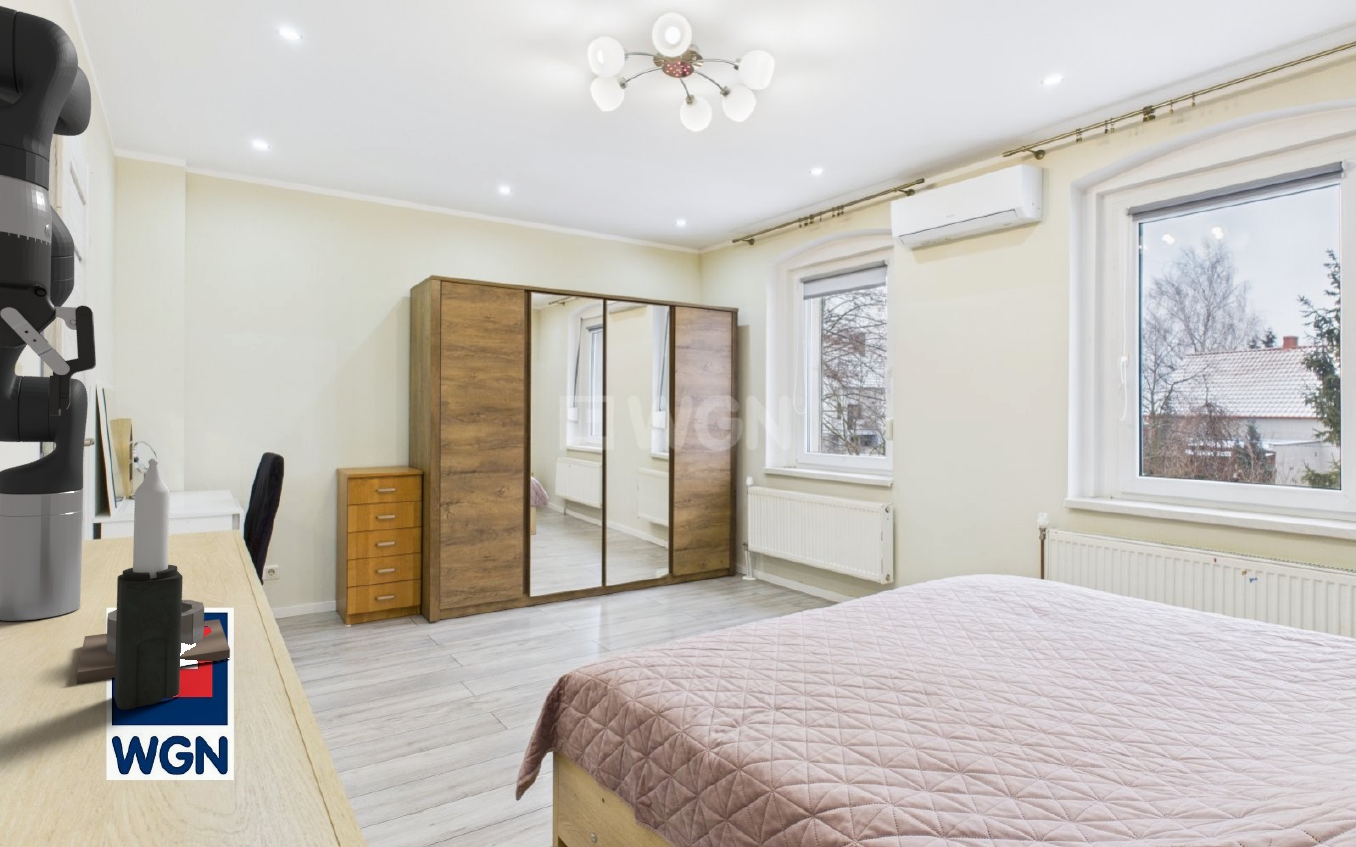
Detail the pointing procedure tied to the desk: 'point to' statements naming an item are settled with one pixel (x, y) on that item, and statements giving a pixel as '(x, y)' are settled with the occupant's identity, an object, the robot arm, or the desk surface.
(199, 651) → the holder
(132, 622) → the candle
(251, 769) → the desk surface
